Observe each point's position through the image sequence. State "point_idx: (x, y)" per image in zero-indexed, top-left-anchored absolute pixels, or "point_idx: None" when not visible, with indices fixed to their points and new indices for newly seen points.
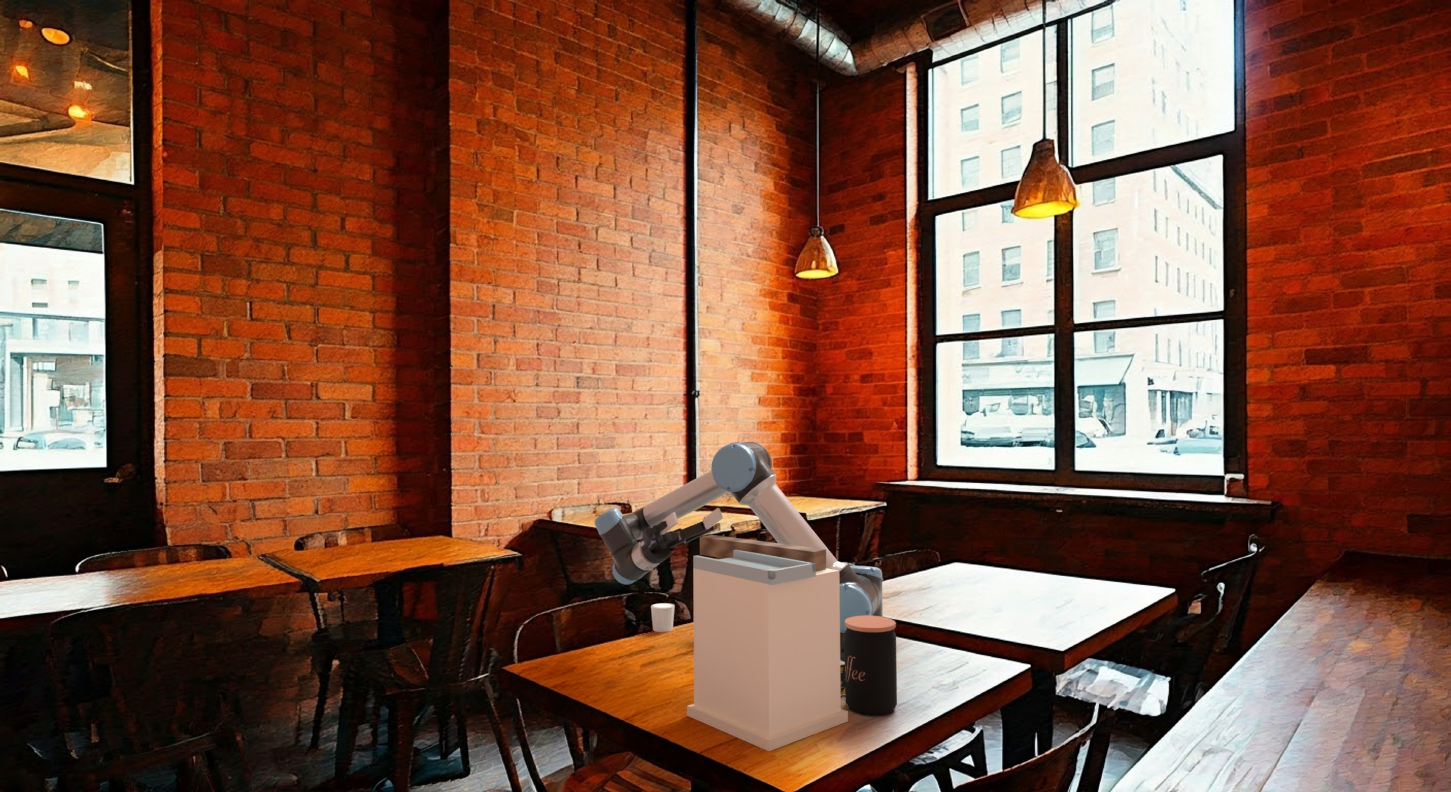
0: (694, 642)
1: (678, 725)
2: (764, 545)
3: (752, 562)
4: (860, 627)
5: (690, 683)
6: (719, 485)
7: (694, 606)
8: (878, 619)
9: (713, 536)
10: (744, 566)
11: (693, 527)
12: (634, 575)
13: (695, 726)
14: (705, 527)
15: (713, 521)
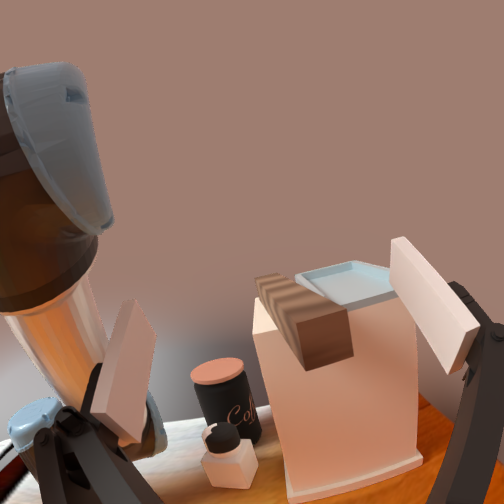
0: (417, 393)
1: (438, 445)
2: (292, 281)
3: (325, 294)
4: (242, 361)
5: None
6: (104, 194)
7: (416, 348)
8: (203, 370)
9: (308, 312)
10: (367, 263)
11: (140, 490)
12: None
13: (421, 442)
14: (136, 435)
15: (144, 371)
